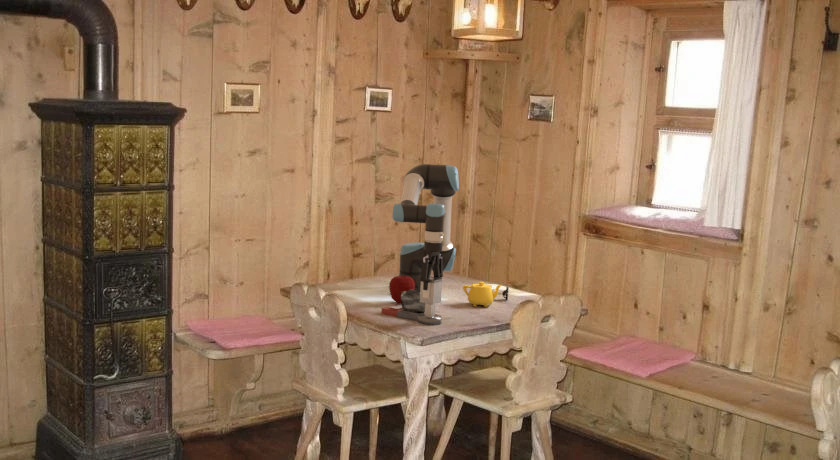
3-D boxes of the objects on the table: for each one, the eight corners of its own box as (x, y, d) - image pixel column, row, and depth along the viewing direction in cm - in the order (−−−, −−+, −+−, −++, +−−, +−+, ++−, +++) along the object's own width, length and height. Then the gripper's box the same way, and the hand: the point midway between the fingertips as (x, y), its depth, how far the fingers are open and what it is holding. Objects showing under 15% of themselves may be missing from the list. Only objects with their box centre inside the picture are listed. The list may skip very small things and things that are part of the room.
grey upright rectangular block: (419, 302, 349) (420, 278, 348) (427, 299, 355) (429, 276, 353) (432, 304, 346) (434, 280, 345) (441, 302, 351) (442, 278, 350)
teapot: (500, 303, 393) (502, 281, 392) (501, 309, 382) (503, 285, 381) (462, 301, 394) (463, 278, 392) (462, 306, 383) (463, 283, 381)
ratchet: (377, 314, 360) (378, 296, 358) (390, 310, 368) (391, 292, 367) (433, 326, 345) (434, 307, 344) (445, 322, 353) (446, 303, 352)
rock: (403, 307, 378) (400, 286, 374) (427, 304, 377) (425, 284, 374) (402, 321, 364) (400, 300, 361) (427, 319, 364) (425, 298, 360)
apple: (402, 298, 392) (403, 270, 390) (419, 303, 384) (421, 275, 382) (382, 302, 384) (384, 273, 382) (400, 307, 376) (401, 277, 374)
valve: (481, 299, 400) (507, 302, 398) (482, 286, 399) (508, 288, 397) (482, 297, 406) (507, 299, 404) (483, 283, 405) (508, 285, 403)
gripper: (428, 244, 337) (425, 301, 340) (453, 240, 353) (450, 294, 356) (413, 242, 341) (410, 298, 344) (438, 237, 357) (435, 291, 360)
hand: (430, 296), depth 350 cm, fingers closed on grey upright rectangular block, 6 cm apart
